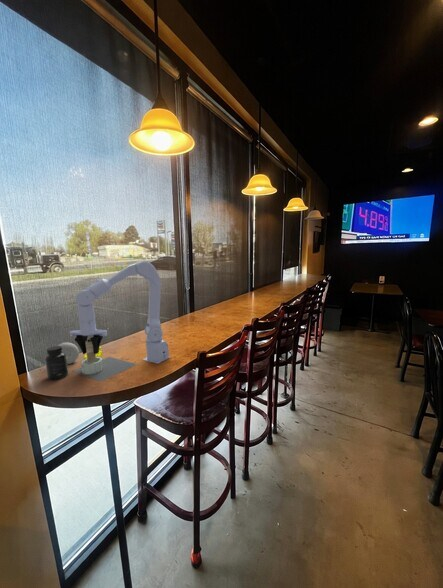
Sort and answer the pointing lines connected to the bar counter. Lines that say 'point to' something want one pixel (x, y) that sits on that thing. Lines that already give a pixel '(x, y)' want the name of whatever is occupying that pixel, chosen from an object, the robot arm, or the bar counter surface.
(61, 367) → the supplement bottle
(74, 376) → the bar counter surface
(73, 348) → the grey round disc
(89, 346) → the peg
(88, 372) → the jar
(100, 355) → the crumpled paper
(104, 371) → the mat
